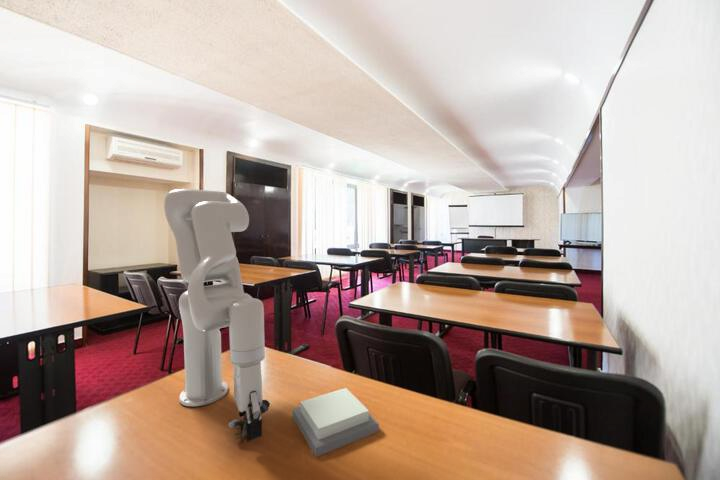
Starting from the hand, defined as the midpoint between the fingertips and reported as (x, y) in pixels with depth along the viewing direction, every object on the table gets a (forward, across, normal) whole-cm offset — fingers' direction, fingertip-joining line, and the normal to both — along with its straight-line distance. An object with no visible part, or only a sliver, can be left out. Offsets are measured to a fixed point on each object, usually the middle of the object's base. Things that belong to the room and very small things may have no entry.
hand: (249, 425), depth 70 cm
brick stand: (+4, +6, +19) cm, 20 cm away
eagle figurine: (+3, -2, 0) cm, 4 cm away
